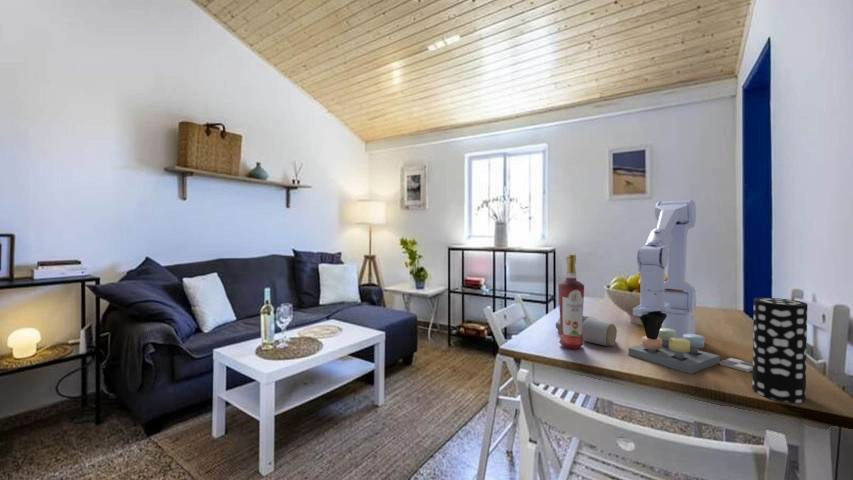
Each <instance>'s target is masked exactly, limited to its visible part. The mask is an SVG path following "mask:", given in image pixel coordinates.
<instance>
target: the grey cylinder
mask: <svg viewBox="0 0 853 480" xmlns="http://www.w3.org/2000/svg"><path fill="white" fill-rule="evenodd" d="M591 317H592V316H590V317H588V318H587V319H586V320H585V321H584V324H583V327H582V337H583V338H582V341H584V342H587V343H592V344H597V345H601V346H605V347H612V346H613V345H614V343H615V342H616V339H617V336H618V334H617V333H618V332H617V331H618V330H617V326H616V325H615V324H614V323H612V322H609V321H606V320H602V319H599V318H597V319H594V318H595V317H594V318H591ZM598 319H599V320H598Z"/></svg>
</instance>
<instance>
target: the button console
mask: <svg viewBox="0 0 853 480" xmlns="http://www.w3.org/2000/svg"><path fill="white" fill-rule="evenodd" d="M628 355H629V356H630V357H635V358H637V359H641V360H644V361H647V362H650V363H654V364H657V365H661V366H664V367H667V368H671V369H672V370H673V369H675V370H677V371H681V372H684V373H687V374H689V375H692V374H694V373H697V372H700V371H703V370H705V369H708V368H710V367H712V366H717V365H719V364H720V355H718V354H714V353H712V352H711V353H710V352H707V351H703V350H699V349H698V355H692V354H689V352H684V360H678V359H675V351H673V350H670V349H669V348H665V347H662V349H660V350H656V353H653V352H649V351H648V349H647V348H644V347H643V346H642V343H641V344H638V345H634V346H631V347H628Z"/></svg>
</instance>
